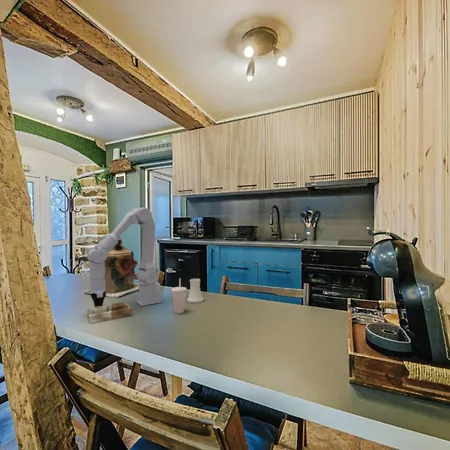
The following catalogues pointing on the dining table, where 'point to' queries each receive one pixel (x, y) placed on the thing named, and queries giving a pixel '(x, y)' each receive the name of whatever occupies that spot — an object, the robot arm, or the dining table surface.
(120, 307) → the walnut block
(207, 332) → the dining table surface
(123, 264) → the cookie jar
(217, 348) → the dining table surface
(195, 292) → the vase
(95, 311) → the cream block
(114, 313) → the lane rack
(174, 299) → the smoothie
